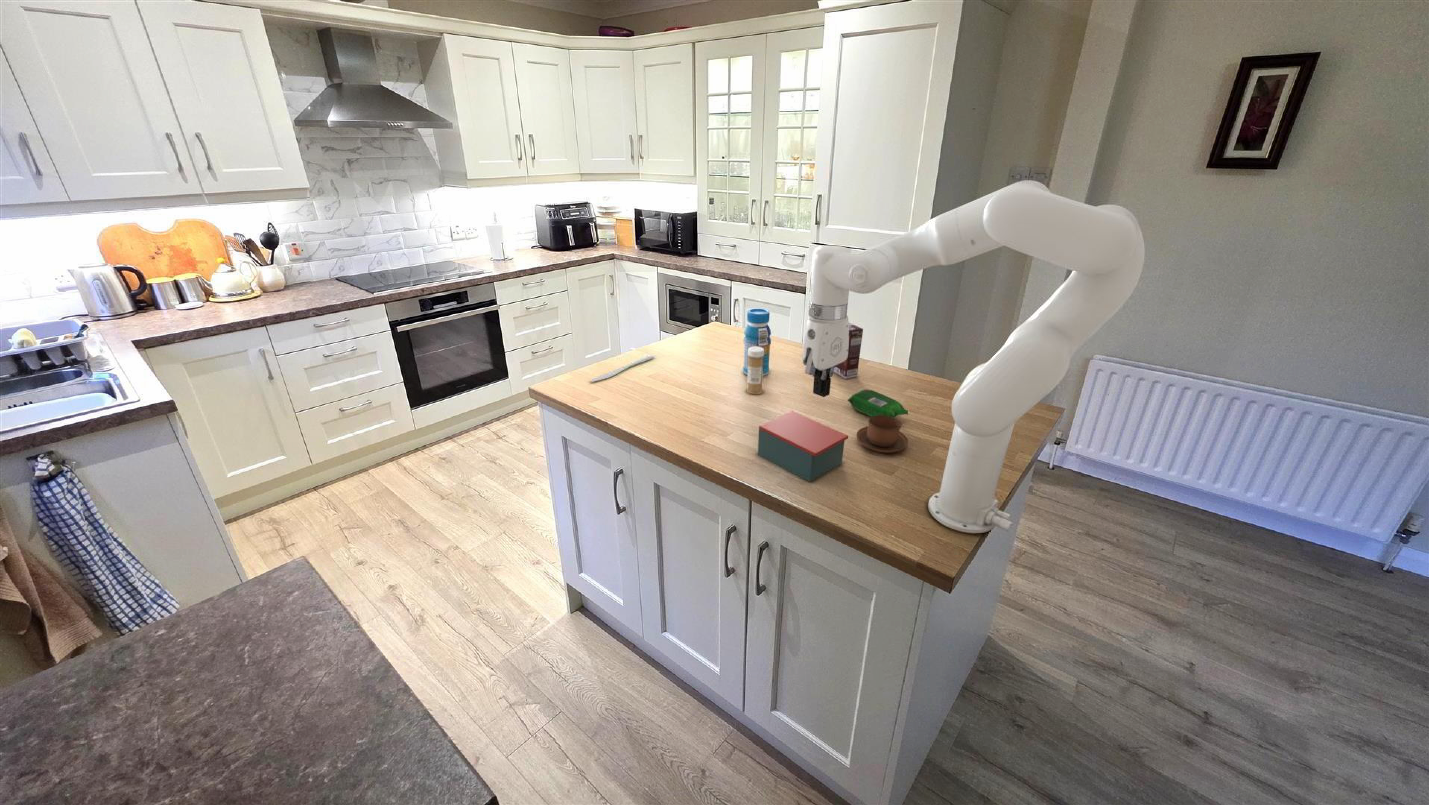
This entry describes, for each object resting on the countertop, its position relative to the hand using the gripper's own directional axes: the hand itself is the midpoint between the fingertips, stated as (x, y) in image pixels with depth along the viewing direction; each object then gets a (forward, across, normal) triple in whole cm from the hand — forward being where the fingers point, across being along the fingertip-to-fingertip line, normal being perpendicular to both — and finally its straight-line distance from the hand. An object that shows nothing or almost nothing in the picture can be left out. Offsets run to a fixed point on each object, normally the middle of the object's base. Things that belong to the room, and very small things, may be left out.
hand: (821, 394), depth 117 cm
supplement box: (+18, +50, +28) cm, 60 cm away
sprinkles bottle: (+18, +19, +37) cm, 45 cm away
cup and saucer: (+18, +20, -5) cm, 27 cm away
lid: (+11, 0, +4) cm, 12 cm away
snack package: (+18, +33, +5) cm, 38 cm away
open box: (+18, 0, +4) cm, 18 cm away
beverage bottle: (+17, +30, +47) cm, 58 cm away
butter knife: (+17, 0, +77) cm, 79 cm away
